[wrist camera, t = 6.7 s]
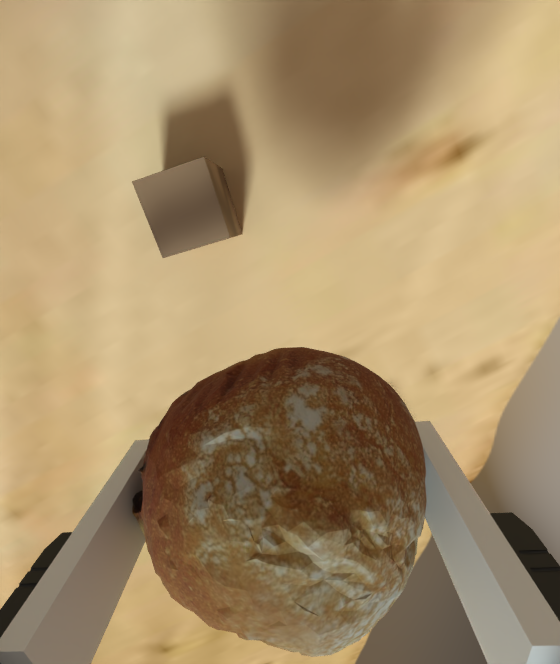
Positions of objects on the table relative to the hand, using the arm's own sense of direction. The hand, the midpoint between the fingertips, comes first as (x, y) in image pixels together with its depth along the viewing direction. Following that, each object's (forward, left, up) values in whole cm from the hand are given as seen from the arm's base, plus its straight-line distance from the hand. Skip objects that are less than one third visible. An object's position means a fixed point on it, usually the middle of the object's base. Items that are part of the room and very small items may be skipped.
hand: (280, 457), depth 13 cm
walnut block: (-10, -6, -16) cm, 20 cm away
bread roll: (0, 0, -1) cm, 1 cm away
